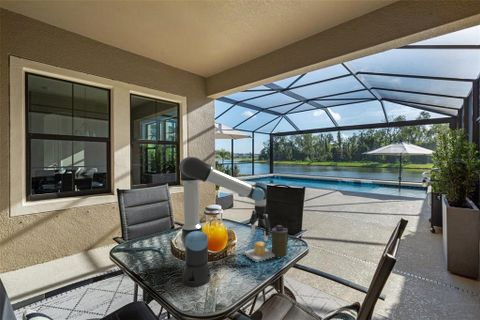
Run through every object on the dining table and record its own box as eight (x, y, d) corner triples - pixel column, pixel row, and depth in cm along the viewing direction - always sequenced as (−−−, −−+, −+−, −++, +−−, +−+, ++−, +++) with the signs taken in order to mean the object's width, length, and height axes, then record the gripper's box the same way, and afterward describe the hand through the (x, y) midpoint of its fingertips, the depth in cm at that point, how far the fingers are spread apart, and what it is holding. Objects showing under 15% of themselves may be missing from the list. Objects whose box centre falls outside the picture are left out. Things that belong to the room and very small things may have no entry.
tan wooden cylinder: (258, 255, 141) (259, 246, 141) (252, 251, 147) (252, 242, 147) (267, 253, 145) (267, 244, 145) (260, 249, 151) (260, 240, 151)
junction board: (256, 262, 136) (256, 252, 136) (243, 254, 148) (243, 244, 147) (275, 256, 145) (276, 246, 145) (262, 249, 156) (262, 240, 156)
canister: (275, 260, 141) (276, 228, 141) (268, 253, 151) (269, 224, 151) (290, 257, 144) (291, 227, 144) (282, 251, 154) (283, 222, 154)
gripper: (277, 208, 137) (276, 242, 137) (253, 201, 158) (252, 230, 158) (268, 209, 133) (267, 244, 133) (244, 202, 154) (243, 232, 154)
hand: (259, 237), depth 146 cm, fingers open, 13 cm apart
